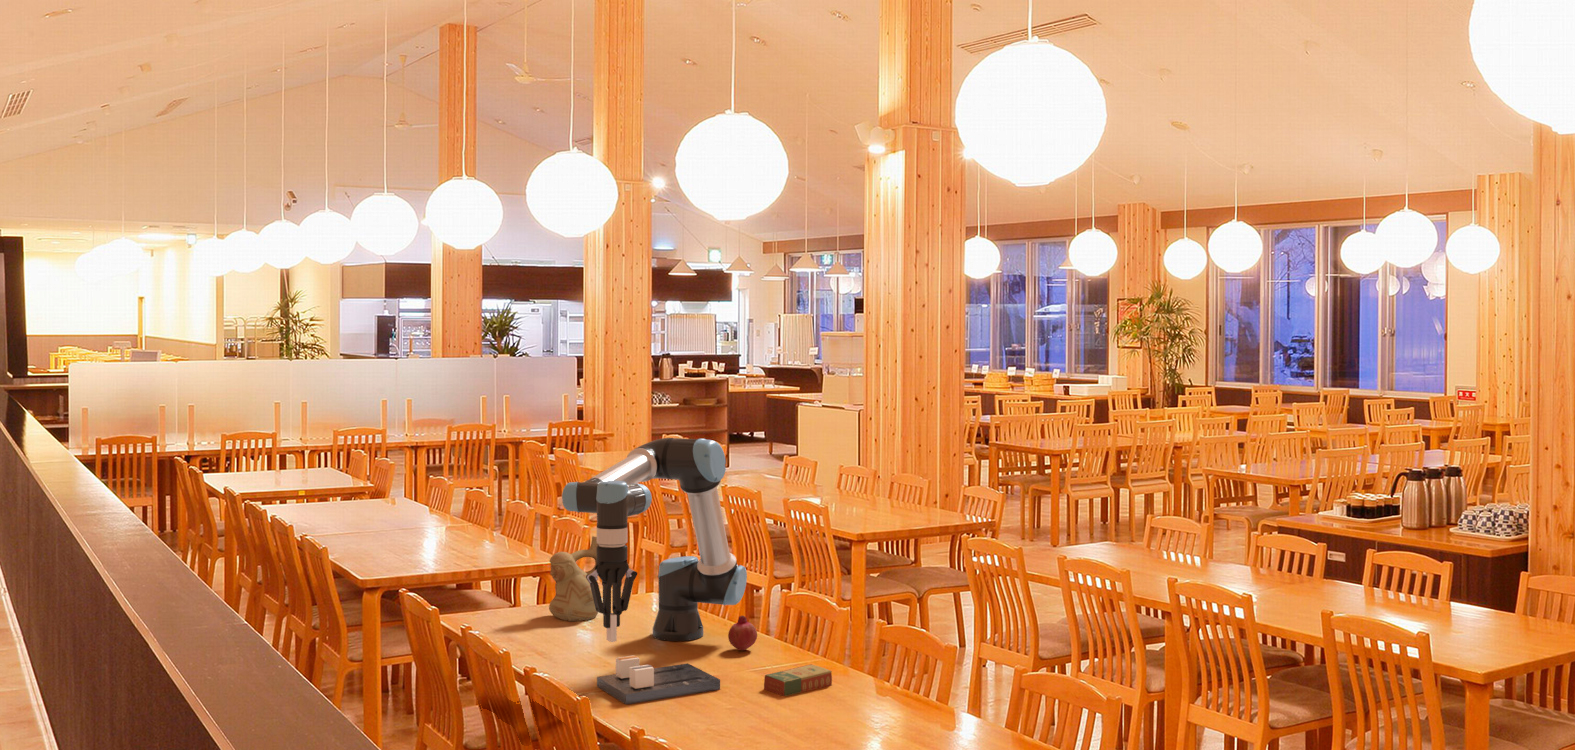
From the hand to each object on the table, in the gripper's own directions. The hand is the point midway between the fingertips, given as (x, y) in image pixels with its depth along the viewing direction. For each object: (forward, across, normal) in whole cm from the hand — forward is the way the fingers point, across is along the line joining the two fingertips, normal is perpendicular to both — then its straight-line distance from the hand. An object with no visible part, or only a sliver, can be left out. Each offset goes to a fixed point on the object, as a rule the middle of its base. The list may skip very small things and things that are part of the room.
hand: (611, 640), depth 312 cm
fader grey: (+13, -8, 0) cm, 15 cm away
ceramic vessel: (+15, -27, -89) cm, 94 cm away
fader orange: (+13, -9, -10) cm, 18 cm away
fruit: (+15, -52, -27) cm, 61 cm away
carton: (+16, -46, +12) cm, 50 cm away
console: (+15, -15, -5) cm, 22 cm away
